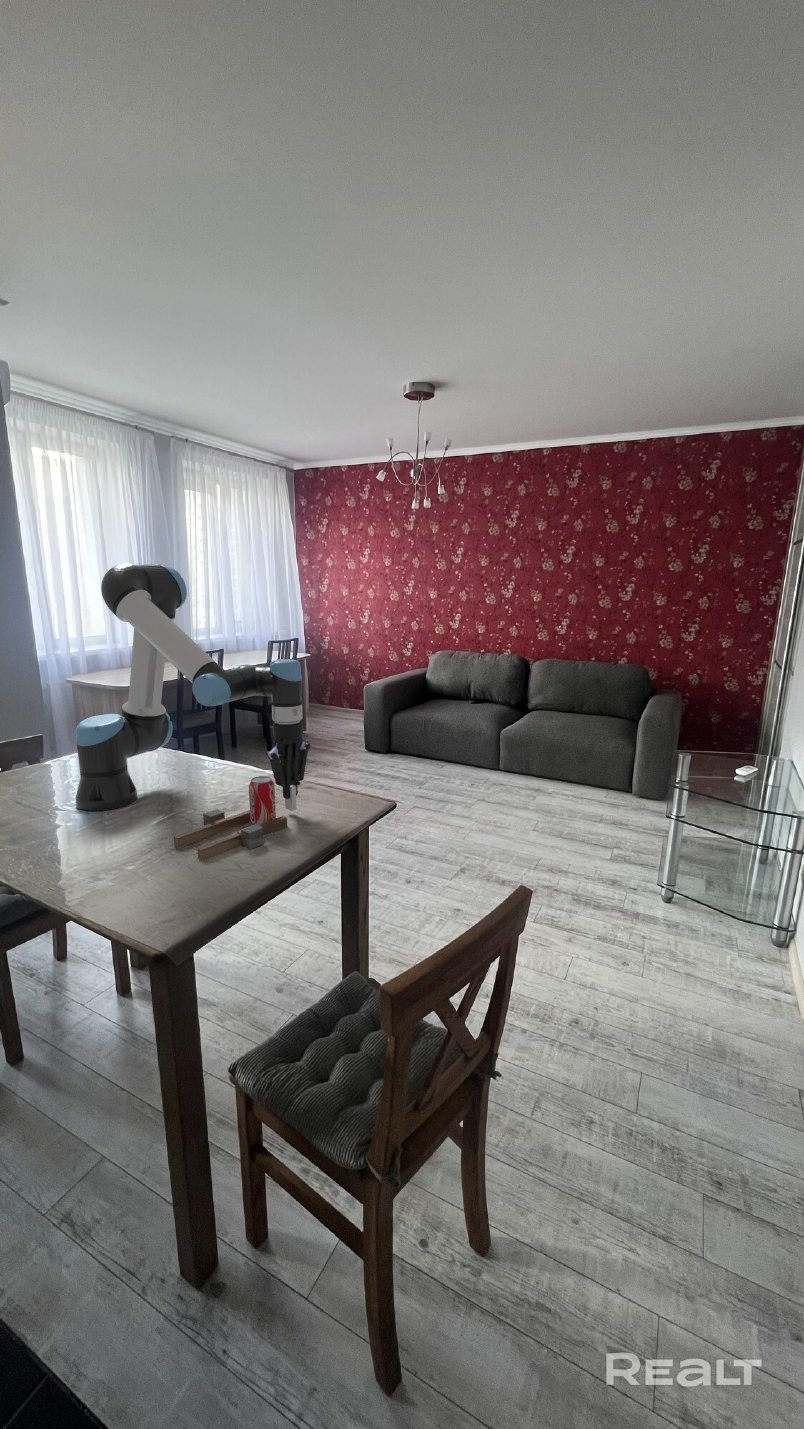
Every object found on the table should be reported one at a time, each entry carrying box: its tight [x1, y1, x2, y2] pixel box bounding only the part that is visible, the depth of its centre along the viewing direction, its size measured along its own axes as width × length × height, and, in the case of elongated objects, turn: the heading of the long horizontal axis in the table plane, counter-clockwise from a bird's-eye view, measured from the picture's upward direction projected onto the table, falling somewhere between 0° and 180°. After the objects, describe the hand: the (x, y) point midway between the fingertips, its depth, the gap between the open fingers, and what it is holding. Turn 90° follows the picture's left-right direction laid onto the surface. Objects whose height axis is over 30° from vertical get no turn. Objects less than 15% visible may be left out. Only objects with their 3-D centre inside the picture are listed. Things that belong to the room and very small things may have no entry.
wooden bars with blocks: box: [173, 808, 288, 861], centre depth 141 cm, size 18×24×4 cm
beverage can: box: [248, 775, 277, 826], centre depth 147 cm, size 6×6×12 cm
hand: (290, 808), depth 154 cm, fingers closed
